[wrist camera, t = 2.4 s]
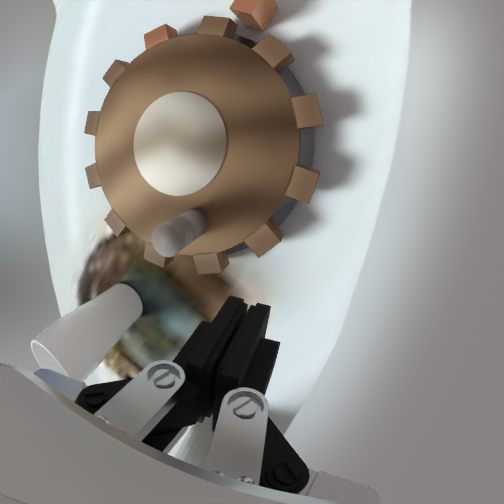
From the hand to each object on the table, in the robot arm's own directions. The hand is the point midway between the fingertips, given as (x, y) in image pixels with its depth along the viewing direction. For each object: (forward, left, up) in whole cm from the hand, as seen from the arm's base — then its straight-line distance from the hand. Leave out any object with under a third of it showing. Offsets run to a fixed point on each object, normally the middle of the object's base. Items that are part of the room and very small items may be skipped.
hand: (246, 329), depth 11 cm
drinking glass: (-7, +23, -16) cm, 29 cm away
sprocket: (+9, +8, -14) cm, 19 cm away
